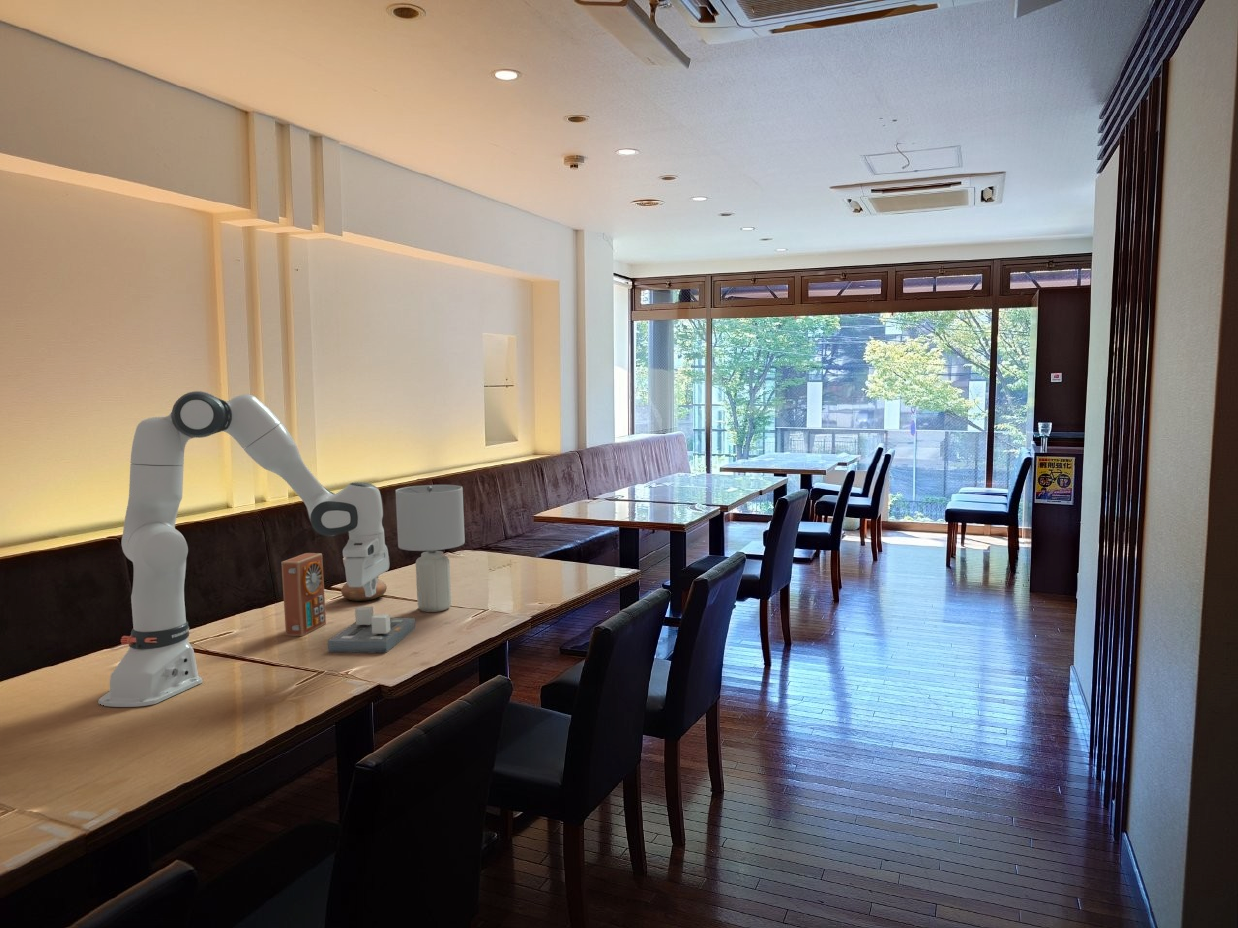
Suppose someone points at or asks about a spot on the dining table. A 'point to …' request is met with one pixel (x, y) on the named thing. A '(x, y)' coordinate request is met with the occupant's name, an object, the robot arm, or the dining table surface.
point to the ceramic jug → (362, 591)
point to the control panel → (303, 594)
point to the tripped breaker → (380, 624)
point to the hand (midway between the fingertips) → (370, 595)
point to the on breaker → (363, 615)
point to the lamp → (431, 537)
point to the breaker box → (371, 637)
